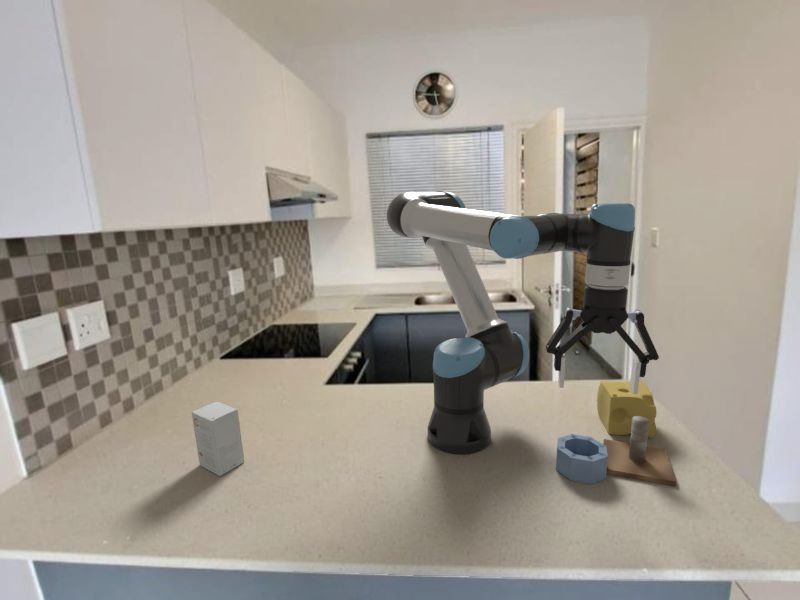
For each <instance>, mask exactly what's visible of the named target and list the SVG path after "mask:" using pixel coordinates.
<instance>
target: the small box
mask: <svg viewBox="0 0 800 600" xmlns="http://www.w3.org/2000/svg"><path fill="white" fill-rule="evenodd" d="M191 417H192V423H193V424H192V425H193V430H194V437H195V443H196V451H197V456H198V463H199V466H201V467H203V468H204V469H206V470H207V471H209V472H212V473H213V474H215V475H216V476H217V477H221V476H223V475H225V474H226V473H228V472H230V471H232V470H233V469H235V468H237V467H238V466H240V465H242V464H243V463H245V455H244V449H243V441H242V433H241V425H240V419H239V410H238V409H237V408H235V407H232V406H229V405H227V404H224V403H222V402H220V401H215V402H211V403H210V404H208V405H205V406H202V407H200V408H197V409H195V410H193V411H191Z"/></svg>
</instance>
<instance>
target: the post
mask: <svg viewBox="0 0 800 600" xmlns="http://www.w3.org/2000/svg"><path fill="white" fill-rule="evenodd" d="M648 427H649V420H648V419H647V418H645V417H641V416H634V417H633V418H632V428H631V433H630V439H629V440H630V441H629V442H626V441H618V440H612V439H606V438H605V439H603V444H604V445H605V446H606V447H607V456H608V458H607V471H606V475H607V474H608V475H613V476H619V477H624V478H630V479H636V480H641V481H646V482H651V483H656V484H657V483H658V484H661V485H662V484H663V485H667V486H674V487H676V486H677V485H676V484H677V479H676V477H675V473H674V471H673V469H672V466H671V462H670V460H669V458H668V454H667V452H666V449H665V448H662V447H657V446H650V445H647V444H648V438H649V437H648Z"/></svg>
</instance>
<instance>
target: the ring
mask: <svg viewBox="0 0 800 600" xmlns="http://www.w3.org/2000/svg"><path fill="white" fill-rule="evenodd" d="M607 458H608V456H607V447H606V446H605V445H604V443H602V442H600V441H599V440H597V439H595V438H593V437H592V436H588V435H587V436H586V435H582V434H580V435H579V434H574V433H573V434H572V433H571V434H568V435H567V434H566V435H564V436H561V437H558V438H557V445H556V459H555V460H556V461H555V462H556V464H555V470H556V472H557V471H558V472H559V473H560V474H561V475H562V476H564V477H565V478H566V479H568V480H570V481H574V482H578V483H584V484H589V485H592V484H595V483H599V482H601V481H604V480H606V479H607Z"/></svg>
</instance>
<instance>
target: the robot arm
mask: <svg viewBox="0 0 800 600" xmlns="http://www.w3.org/2000/svg"><path fill="white" fill-rule="evenodd" d="M635 220H636V208H635V206H634V205H633V204H631V203H629V202H628V203H627V202H624V203H623V202H620V203H619V202H617V203H615V202H614V203H608V202H607V203H603V202H601V203H594V204H592V205H591V206H590V211H589V213H581V214H580V213H558V212H549V213H541V214H540V213H539V214H538V215H519V214H510V213H502V212H495V211H494V212H493V211H485V210H477V209H470V208H469V209H468V208H466V205H465V203H464V202H463V200H462V199H461V197H459V196H458V195H457V194H455V193H453V192H450V191H444V190H437V191H409V192H404V193H401V194H398V195H397V196H395V197H394V198H393V199H392V200H391V201H390V203H389V205H388V207H387V210H386V222H387V223H388V227H389V228H390V229H391V231H392V232H394V233H395V234H396V235H398V236H400V237H405V238H410V239H419V238H422V240H423V243H424V244H425V247H426V248H427V249H430V250H433V252H434V254H435V256H436V260H437V262H438V265H439V266H440V268H441V271H442V273H443V275H444V277H445V281H446V283H447V285H448V288H449V291H450V292H451V295H452V298H453V300H454V303H455V305H456V307H457V309H458V311H459V314H460V317H461V319H462V321H463V324H464V327H465V329H466V334H465V336H461V337H459V338H457V337H454V338H450V339H447V340H444V341H443V342H441V343H439V344H438V345H437V346H436V347H435V348H434V352H433V360H432V361H433V362H432V371H433V373H432V374H433V404H434V405H433V409H432V413H431V415H430V418H429V421H428V424H427V439H428V441H429V443H430V444H431V445H432V446H433V447H434V448H435V449H438V450H440V451H442V452H446V453H451V454H458V455H460V454H462V455H463V454H465V455H466V454H473V453H476V452H479V451H482V450H484V449H485V448H487V447H488V446H489V444H490V443H491V441H492V429H491V426H490V423H489V419H488V416H487V413H486V410H485V408H484V406H485V405H484V403H485V401H484V398H485V393H484V392H485V390H488V389H489V388H490V389H491V388H493V387H495V386H497V385H500V384H503V383H504V382H507V381H511V380H513V379H515V378H516V377H517V376H520V375H521V374H522V373H523V372H525V370H526V369H527V367H528V363H529V361H530V349H529V346H528V343H527V341H526V339H525V338H524V337H523V336H522V334H519V333H518V332H517V331H514V330H511V328H510V326H509V324H508V321H505V320H503V319H501V318H499V316H498V313H497V312H496V310H495V307H494V305H493V302H492V299H491V298H490V296H489V294H488V290H487V289H486V286H485V284H484V282H483V280H482V277H481V276H480V275H481V274H480V273H479V270H478V268H477V266H476V264H475V261H474V260H473V257H472V254H471V252H470V250H469V248H468V247H475V248H478V249H482V250H483V249H484V250H489V251H493V252H494V253H495V254H496V255H498V257H500V258H502V259H515V260H516V259H518V260H519V259H520V260H521V259H524V258H527V257H532V256H537V255H538V256H539V255H545V254H550V253H552V254H553V253H557V252H574V253H581V254H582V253H585V254H586V264H585V266H586V267H585V276H584V282H585V284H586V285H585V286H584V289H583V301H582V307H581V309H573V308H572V307H569V306H567V307H566V308H565V311H564V316H563V319H561V321H560V323H559V324H558V326H557V328H556V329H555V331H554V332H553V333H552V335H551V337H550V339H549V340H548V342H547V343H546V345H545V350H546V352H547V353H548V354H552V355H553V356H554V359H553V368H554V370H555V371H556V372H557V371H558V386H559V389H560V388H563V389H564V388H565V387H564V386H565V373H566V372H565V371H566V361H567V360H566V355H565V353H566V352H568V350H570V348H572V347H573V346H574V345H575V344H576V343H578V341H579V340H581V339H582V338H583V337H584V336H586V335H588V334H589V332H591V333H593V334H601V333H603V334H608V335H610V334H611V335H612V334H613V333H615V332H616V333H617V334H618V335H619V337H621V338H622V340H623V341H624V342H625V343H626V344H627V346H628V347H629V348H630V349H631V350H632V352H633V353H634V354H635V355H636V357H632V365H631V373H630V381H629V382H630V389H631V391H632V393H633V394H638V386H639V381H640V378H645V376H646V373H647V365H648V364H649V363H650V361H653V360H654V361H658V360H659V359H660V356H659V354H658V352H657V349H656V347H655V345H654V343H653V341H652V338H651V336H650V333H649V331H648V329H647V327H646V325H645V313H643V312H642V311H641V310H639V309H635V310H634V311H627V301H628V293H629V291H628V289H627V287H626V286H628V285H629V281H630V270H631V269H630V268H631V262H632V261H631V259H632V250H633V241H634V234H635V231H636V226H635ZM578 317H580V319H581V320H582V322H581V323H580V324H579V325H578V327H577V328H575V329H574V330H573V331H572V332H571V333H570V334H569V335H568V336H567V337H566V338H565V339H564V340H563V341H562V342H560V341H561V340H562V338H563V337H564V335H565V333H566V332H567V331H568V329H569V328H570V325H571V323H572V321H575V320H576V319H577V318H578ZM628 319H629V320H630V322H631V323H632V324H634V326H635V328H636V329H637V332H638V334H639V337H640V339H641V341H642V343H643V345H644V348H645V349H646V352H643V351H642V349H640V347H639V346H638V345H637V344H636V342H635V341H634V340H633V339H632V337H630V335H629V334H628V332H626V330H625V329H624V327H622V326H623V324H624V323H625V322H626V321H627V320H628Z"/></svg>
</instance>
